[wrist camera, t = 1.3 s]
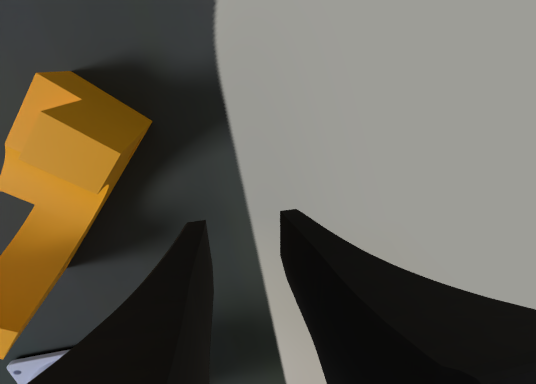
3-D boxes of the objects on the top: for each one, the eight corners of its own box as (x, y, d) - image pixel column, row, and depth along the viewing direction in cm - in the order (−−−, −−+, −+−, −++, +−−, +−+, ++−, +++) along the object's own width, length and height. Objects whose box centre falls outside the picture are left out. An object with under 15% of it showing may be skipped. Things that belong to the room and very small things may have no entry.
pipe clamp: (72, 71, 14) (-27, 75, 8) (153, 120, 15) (120, 153, 10) (-9, 241, 16) (-125, 335, 11) (67, 266, 18) (3, 359, 12)
